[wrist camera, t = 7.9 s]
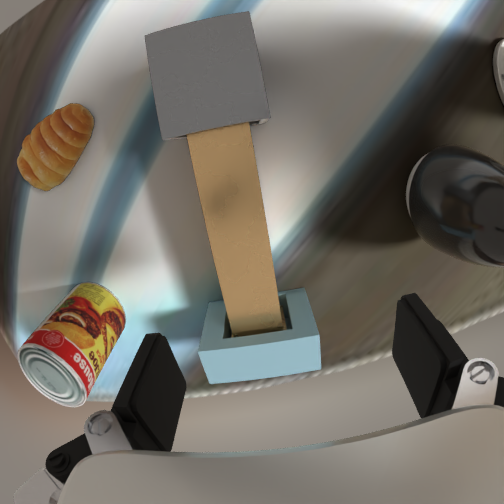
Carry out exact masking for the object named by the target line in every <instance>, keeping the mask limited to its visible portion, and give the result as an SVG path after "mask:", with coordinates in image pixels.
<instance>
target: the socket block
mask: <svg viewBox="0 0 504 504" xmlns="http://www.w3.org/2000/svg"><path fill="white" fill-rule="evenodd" d="M278 299H279V305H280V306H281V305H282V306H283V312H284V317H285V323H286V329H287V330H283V331H277V332H270V333H263V334H256V335H249V336H242V337H234V338H231V337H232V330H231V326H230V322H229V318H228V315H227V311H226V307H225V303H224V300H221V301H214V302H209V303H208V308H207V312H206V317H205V321H204V326H203V330H202V335H201V339H200V344H199V348H198V354H199V356H200V359H201V362H202V364H203V367H204V370H205V372H206V375H207V377H208V380H209V383H210V384H214V383H226V382H236V381H245V380H254V379H262V378H270V377H277V376H283V375H290V374H296V373H302V372H308V371H314V370H319V369H321V356H320V338H319V332H318V329H317V326H316V323H315V319H314V316H313V313H312V310H311V307H310V304H309V301H308V298H307V294H306V291H305V288H299V289H293V290H287V291H280V292H278Z"/></svg>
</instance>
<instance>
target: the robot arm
mask: <svg viewBox="0 0 504 504" xmlns="http://www.w3.org/2000/svg"><path fill="white" fill-rule="evenodd" d="M493 70H494V76H495V81H496V85H497V89H498V92H499V95H500V98H501V100H502V102H503V104H504V39H503V40H501V41H499V42H498V43H497V45H496V47H495V50H494V54H493ZM392 354H393V358H394V361H395V363H396V365H397V367H398V369H399V371H400V373H401V375H402V377H403V379H404V381H405V384H406V386H407V388H408V390H409V392H410V395H411V397H412V399H413V401H414V404H415V406H416V408H417V410H418V413H419V415H420V417H421V418H422V419H419V420H416V421H412V422H409V423H406V424H402V425H399V426H395V427H392V428H388V429H384V430H380V431H376V432H373V433H369V434H364V435H360V436H356V437H351V438H346V439H341V440H337V441H330V442H325V443H319V444H312V445H306V446H299V447H292V448H283V449H272V450H261V451H245V452H220V453H195V452H170V451H171V449H172V446H173V441H174V436H175V433H176V429H177V424H178V420H179V416H180V411H181V408H182V403H183V399H184V395H185V391H186V381H185V379H184V377H183V374H182V372H181V370H180V368H179V366H178V364H177V361H176V359H175V357H174V355H173V353H172V350H171V348H170V346H169V343H168V341H167V339H166V337H165V336H162V335H161V334H160V333H152V334H146V335H145V337H144V339H143V341H142V343H141V345H140V347H139V349H138V352H137V354H136V356H135V358H134V360H133V362H132V364H131V366H130V368H129V371H128V373H127V375H126V377H125V379H124V382H123V384H122V386H121V388H120V390H119V393H118V395H117V397H116V399H115V402H114V404H113V407H112V409H111V411H106V410H102V411H98V412H95V413H94V414H92V415H91V416H90V417H89V418H88V419H87V420H86V422H85V425H84V432H85V433H84V434H83V435H81V436H79V437H77V438H75V439H74V440H72V441H70V442H68V443H66V444H64V445H62V446H61V447H59V448H57V449H55V450H53V451H52V452H51V453H50V454H49V455H48V457H47V459H46V468H45V469H43V468H41V469H40V470H38V471H37V472H36V473H35V474H34V475H33V476H32V477H31V478H29V479H28V480H27V481H26V482H25V483H24V484H23V485H22V486H21V487H20V488H19V489H17V491H16V492H15V494H14V504H504V378H503V377H499V376H498V369H497V367H496V366H495V365H494V364H493V362H491V361H489V360H487V359H484V358H476V359H472V360H470V361H469V360H468V359H467V357H466V356H465V354H464V353H463V351H462V350H461V349H460V347H459V346H458V344H457V343H456V342H455V340H454V339H453V338H452V336H451V335H450V334H449V332H448V331H447V330H446V328H445V327H444V326H443V324H442V323H441V322H440V321H439V320H437V319H436V318H435V317H434V315H433V314H432V313H431V312H430V310H429V309H428V308H427V307H426V305H425V304H424V303H423V301H422V300H421V299H420V298H419V296H418V295H417V294H416V293H412V294H408V295H404V296H402V297H401V300H398V302H397V311H396V322H395V332H394V340H393V348H392Z"/></svg>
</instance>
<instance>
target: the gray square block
mask: <svg viewBox="0 0 504 504" xmlns="http://www.w3.org/2000/svg"><path fill="white" fill-rule="evenodd" d="M145 42H146V49H147V56H148V63H149V69H150V75H151V81H152V87H153V93H154V99H155V105H156V110H157V116H158V121H159V126H160V131H161V136H162V140H170V139H185V138H187V134H191V133H195V132H200V131H204V130H209V129H214V128H219V127H224V126H229V125H234V124H240V123H246V122H249V125H255V124H261V123H266V122H267V121H268V120H269V119H270V113H269V107H268V102H267V96H266V91H265V86H264V81H263V76H262V70H261V65H260V60H259V55H258V51H257V46H256V41H255V36H254V31H253V27H252V22H251V18H250V13H249V11H248V12H241V13H234V14H228V15H223V16H218V17H212V18H208V19H203V20H199V21H194V22H190V23H186V24H182V25H178V26H175V27H171V28H168V29H164V30H161V31H157V32H154V33H151V34H148V35H145Z"/></svg>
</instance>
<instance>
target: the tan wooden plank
mask: <svg viewBox="0 0 504 504" xmlns="http://www.w3.org/2000/svg"><path fill="white" fill-rule="evenodd" d="M187 140H188V145H189V150H190V155H191V160H192V164H193V169H194V174H195V179H196V183H197V188H198V193H199V197H200V202H201V206H202V211H203V215H204V220H205V224H206V229H207V233H208V237H209V242H210V246H211V250H212V254H213V258H214V263H215V267H216V271H217V275H218V279H219V283H220V287H221V291H222V295H223V299H224V303H225V307H226V311H227V315H228V318H229V322H230V326H231V330H232V337H231V338H234V337H242V336H249V335H256V334H263V333H270V332H277V331H283V330H287V329H286V323H285V317H284V312H283V306H282V305H281V306H280V305H279V299H278V292H277V286H276V279H275V273H274V267H273V260H272V254H271V248H270V242H269V236H268V230H267V224H266V218H265V212H264V206H263V200H262V194H261V188H260V182H259V176H258V171H257V165H256V159H255V154H254V148H253V142H252V137H251V131H250V126H249V122H246V123H240V124H234V125H229V126H224V127H219V128H214V129H209V130H204V131H200V132H195V133H191V134H187Z"/></svg>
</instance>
